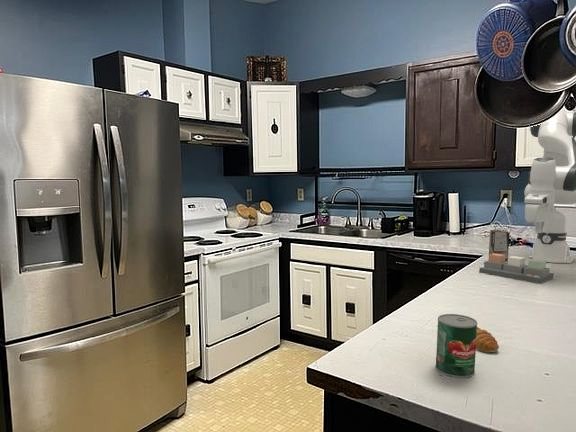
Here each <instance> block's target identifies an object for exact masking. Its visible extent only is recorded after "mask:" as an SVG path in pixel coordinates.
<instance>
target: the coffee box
mask: <svg viewBox="0 0 576 432" xmlns="http://www.w3.org/2000/svg"><path fill="white" fill-rule="evenodd" d="M488 243H489V245H488V255H489V254H493V253H496V254H503V255H505V261H506V262H508V257H509V249H510V248H509V247H510V232H509V231H507V230H504V229H503V230H502V229H490V230H489V242H488Z"/></svg>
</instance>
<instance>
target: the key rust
mask: <svg viewBox="0 0 576 432" xmlns="http://www.w3.org/2000/svg"><path fill="white" fill-rule="evenodd" d="M488 260H489V262H494V263H500V264H501V263H504V262H505V255H503V254H496V253H493V254H489V253H488Z"/></svg>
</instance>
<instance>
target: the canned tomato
mask: <svg viewBox="0 0 576 432" xmlns="http://www.w3.org/2000/svg"><path fill="white" fill-rule="evenodd" d="M477 327H478V321H477V320H476V319H475V318H473V317H470V316H467V315H463V314H456V313H445V314H441V315H439V316H438V317H437V331H436V335H437V336H436V354H435V368H436V370H437V371H438V372H439V373H441V374H443V375H445V376H447V377H448V376H449V377H451V378H458V379H462V378H463V379H467V378H470V377H471V378H472V377H473V376H474V375H475V373H476V370H475V369H476V350H477V349H476V336H477Z"/></svg>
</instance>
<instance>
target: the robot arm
mask: <svg viewBox="0 0 576 432" xmlns="http://www.w3.org/2000/svg"><path fill="white" fill-rule="evenodd" d="M529 131H530V134H531V136H533V138H534V137H535V138H537V142H538V144H539V146H540V147H541V148H542V149H543V157H542V156H541V157H537V158H534V159H533V160H532V163H531V167H530V171H529V172H528V180H527V182H528V184H526V186H525V188H524V192H523V193H524V204H525V206H524V220H525V223H529V224H534V228H535V233H536V238H537V239H536V240H535V241H533V243H532V244H533V246H532V254H529V256H528V258H530V259H537V260H544V261H546V263H553V264H554V263H557V264H572V263H573V262H574V260H575V256H570V252H571V251H570V250H571V249H570V246H569V244H568V243H567V241H566V240H567V236H568V235H567V232H566V222H567V219H566V216H565V215H564V213H562V212H560V211H558V210H556V209H555V205H556V204H557V205H575V204H576V139H575V138H576V111H574V112H565V111H563V110H560V112H559V113H558V114H557V115H556V116H554V117H553V118H551V119H550V120H548V121H546V122H544V123H542V124H540V125H537V126H533V127H530V126H529Z"/></svg>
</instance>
